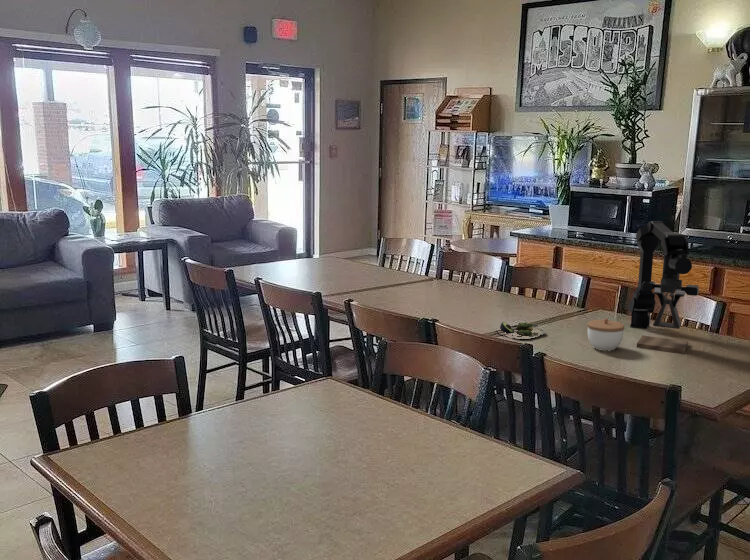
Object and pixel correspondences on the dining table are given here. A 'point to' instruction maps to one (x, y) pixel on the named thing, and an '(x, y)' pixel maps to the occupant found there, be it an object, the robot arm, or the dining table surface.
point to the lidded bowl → (605, 334)
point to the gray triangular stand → (674, 313)
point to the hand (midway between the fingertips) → (667, 311)
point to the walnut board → (662, 344)
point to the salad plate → (520, 329)
